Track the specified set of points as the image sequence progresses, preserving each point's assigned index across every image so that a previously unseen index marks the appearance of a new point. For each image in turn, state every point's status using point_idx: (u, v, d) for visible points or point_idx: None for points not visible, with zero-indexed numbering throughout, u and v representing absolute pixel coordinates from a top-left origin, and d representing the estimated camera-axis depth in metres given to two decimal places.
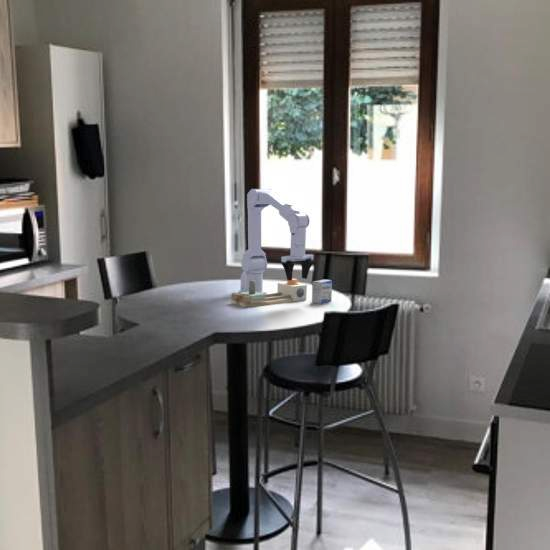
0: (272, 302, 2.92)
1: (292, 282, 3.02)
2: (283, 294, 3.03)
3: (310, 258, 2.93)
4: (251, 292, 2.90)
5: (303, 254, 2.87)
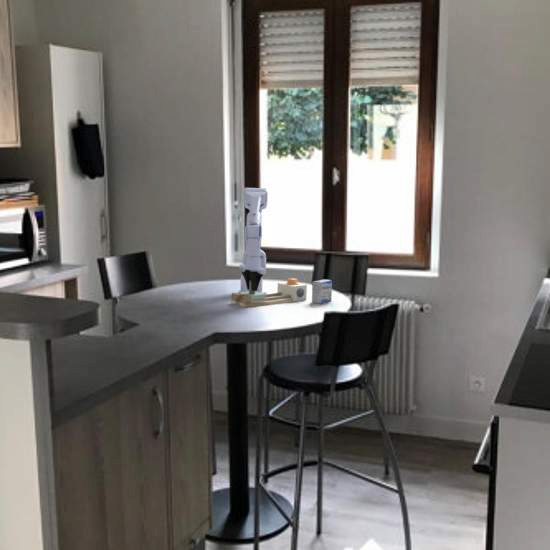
0: (272, 302, 2.92)
1: (292, 282, 3.02)
2: (283, 294, 3.03)
3: None
4: (251, 292, 2.90)
5: (248, 265, 2.87)
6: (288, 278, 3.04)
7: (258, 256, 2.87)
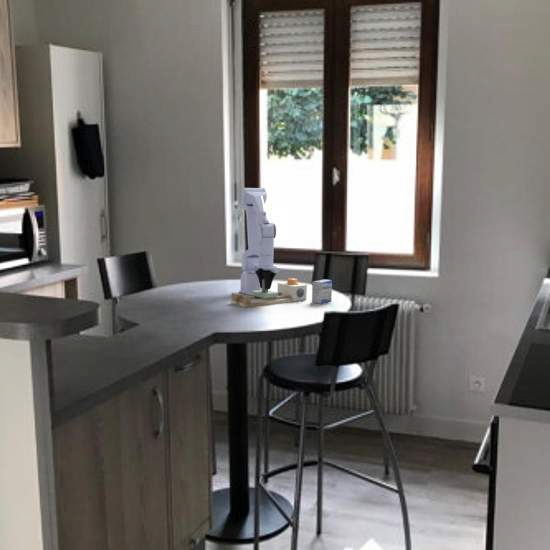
0: (272, 302, 2.92)
1: (292, 282, 3.02)
2: (283, 294, 3.03)
3: None
4: (264, 290, 2.94)
5: (261, 264, 2.91)
6: (288, 278, 3.04)
7: (271, 255, 2.91)
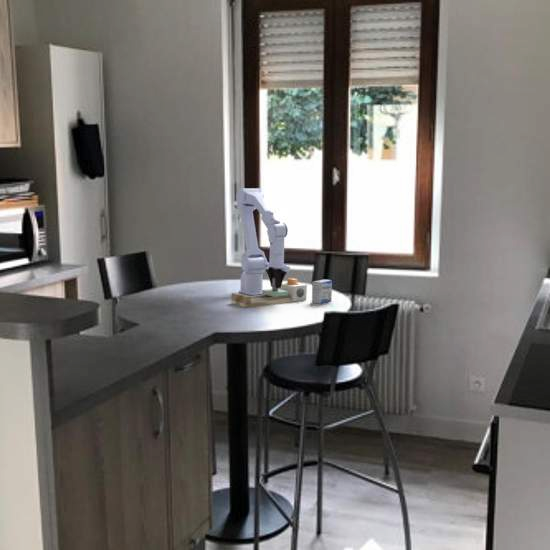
0: (272, 302, 2.92)
1: (292, 282, 3.02)
2: None
3: None
4: (274, 289, 2.97)
5: (272, 263, 2.95)
6: (288, 278, 3.04)
7: (282, 254, 2.94)
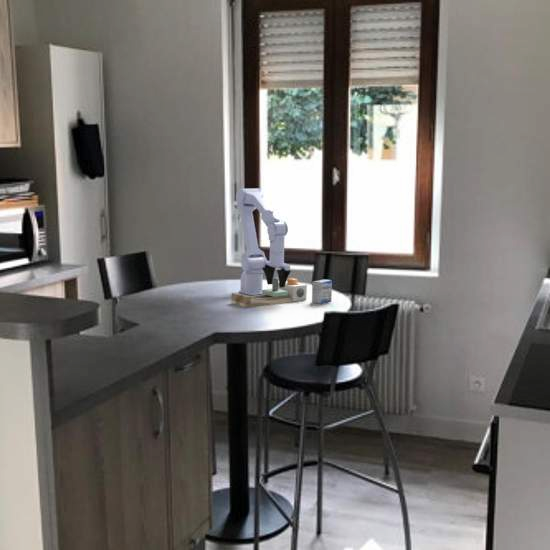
0: (272, 302, 2.92)
1: (292, 282, 3.02)
2: None
3: None
4: (274, 289, 2.97)
5: (272, 261, 2.94)
6: (288, 278, 3.04)
7: (282, 252, 2.94)
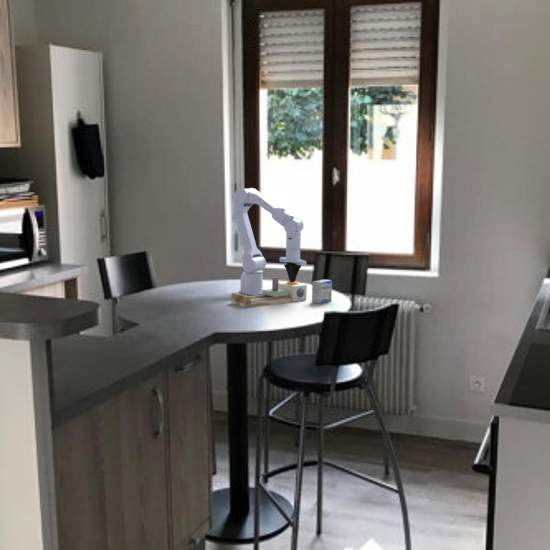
0: (272, 302, 2.92)
1: None
2: None
3: None
4: (274, 289, 2.97)
5: (288, 257, 3.00)
6: None
7: (298, 249, 3.00)
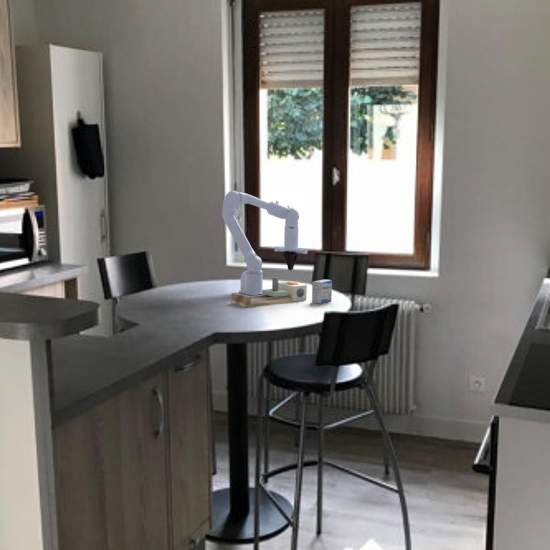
0: (272, 302, 2.92)
1: None
2: None
3: None
4: (274, 289, 2.97)
5: (289, 246, 3.08)
6: (288, 282, 3.05)
7: (297, 237, 3.09)
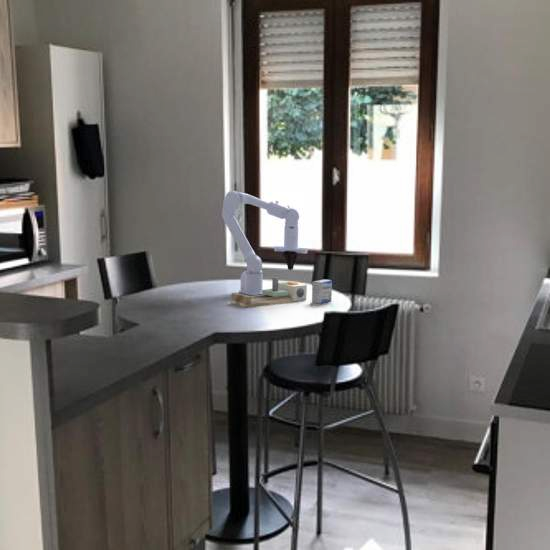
0: (272, 302, 2.92)
1: None
2: None
3: None
4: (274, 289, 2.97)
5: (289, 246, 3.08)
6: (288, 282, 3.05)
7: (297, 237, 3.10)
